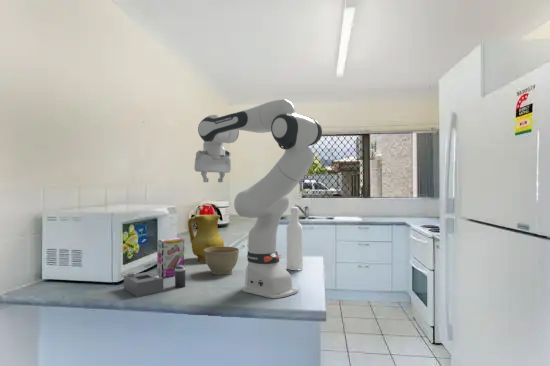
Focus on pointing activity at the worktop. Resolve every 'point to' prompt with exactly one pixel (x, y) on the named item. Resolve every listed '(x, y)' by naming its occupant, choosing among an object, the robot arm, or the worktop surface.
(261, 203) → the robot arm
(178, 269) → the lens
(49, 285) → the worktop surface
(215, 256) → the planter bowl
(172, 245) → the candy bar box
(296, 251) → the bottle
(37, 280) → the worktop surface
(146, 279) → the block
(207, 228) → the pitcher
